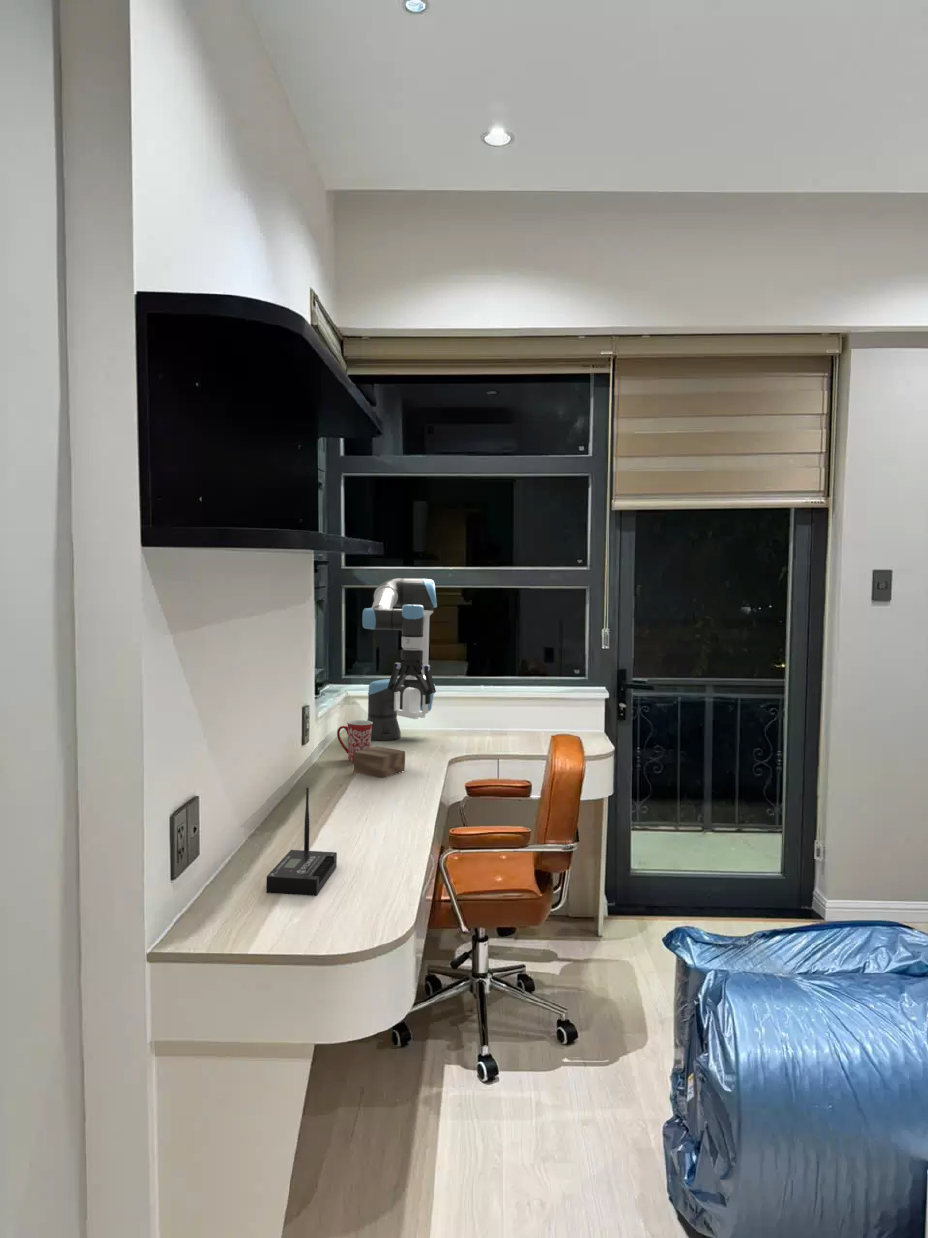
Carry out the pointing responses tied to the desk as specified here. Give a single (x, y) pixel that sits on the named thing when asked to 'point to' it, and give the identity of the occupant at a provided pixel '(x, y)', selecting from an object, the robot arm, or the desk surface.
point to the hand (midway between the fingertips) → (410, 711)
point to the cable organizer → (411, 704)
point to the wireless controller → (302, 868)
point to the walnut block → (379, 761)
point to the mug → (356, 736)
